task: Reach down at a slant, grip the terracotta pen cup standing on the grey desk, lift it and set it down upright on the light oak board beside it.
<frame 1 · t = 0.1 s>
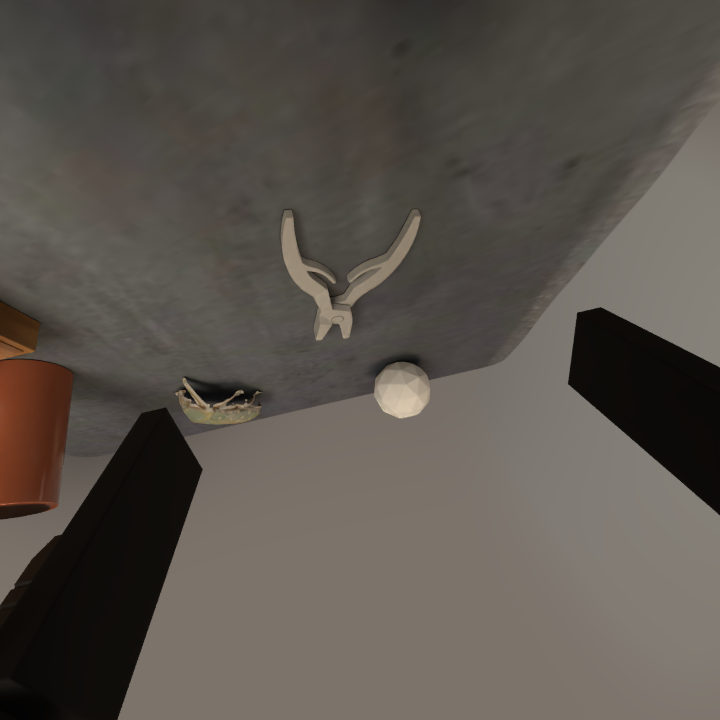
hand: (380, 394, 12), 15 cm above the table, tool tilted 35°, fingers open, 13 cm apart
decorative insect model: (218, 388, 45), on the table
pliers: (339, 278, 31), on the table
geometric ball: (394, 364, 51), on the table
pen cup: (29, 375, 33), on the table
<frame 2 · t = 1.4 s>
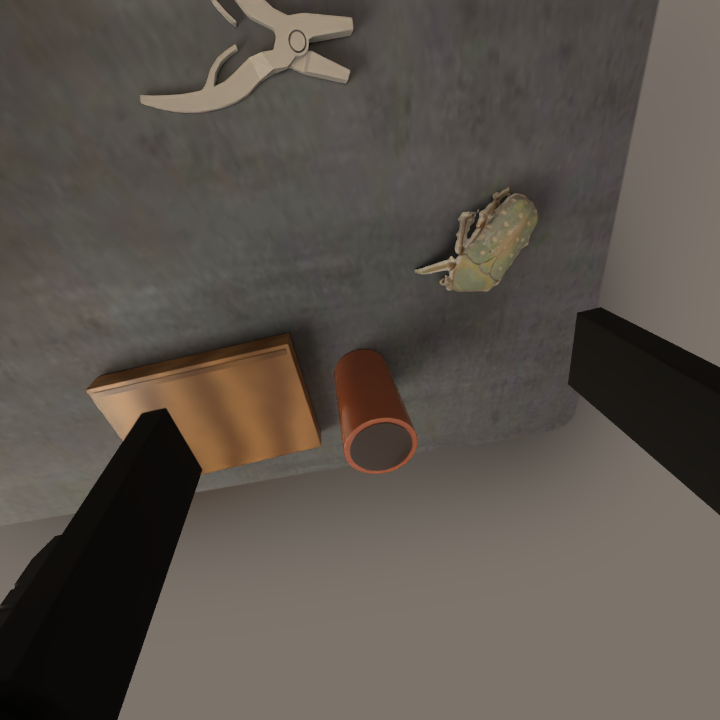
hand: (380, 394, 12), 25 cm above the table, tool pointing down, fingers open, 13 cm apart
decorative insect model: (467, 243, 35), on the table
pliers: (246, 39, 26), on the table
pen cup: (361, 373, 41), on the table
oak board: (219, 406, 40), on the table
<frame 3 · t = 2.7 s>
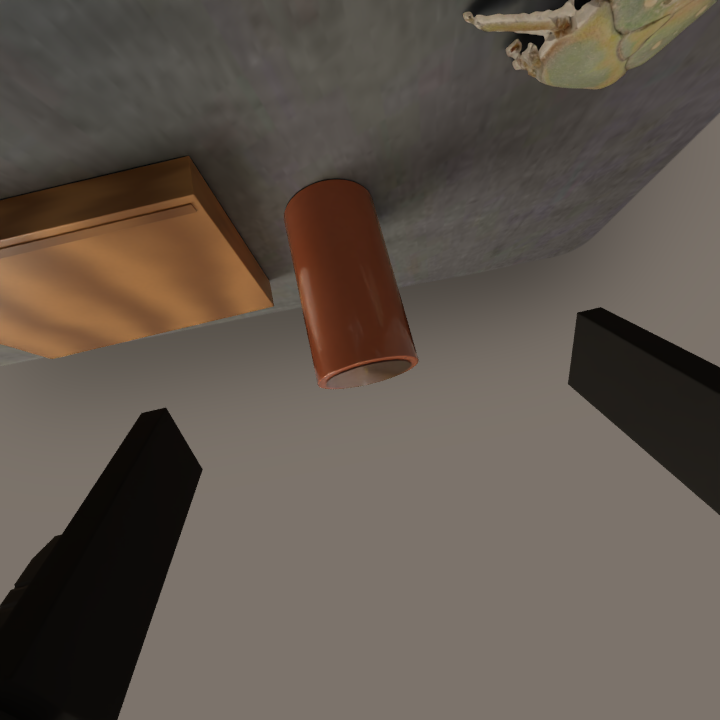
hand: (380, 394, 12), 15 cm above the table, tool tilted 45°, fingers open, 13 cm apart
pen cup: (329, 213, 25), on the table
oak board: (102, 267, 25), on the table
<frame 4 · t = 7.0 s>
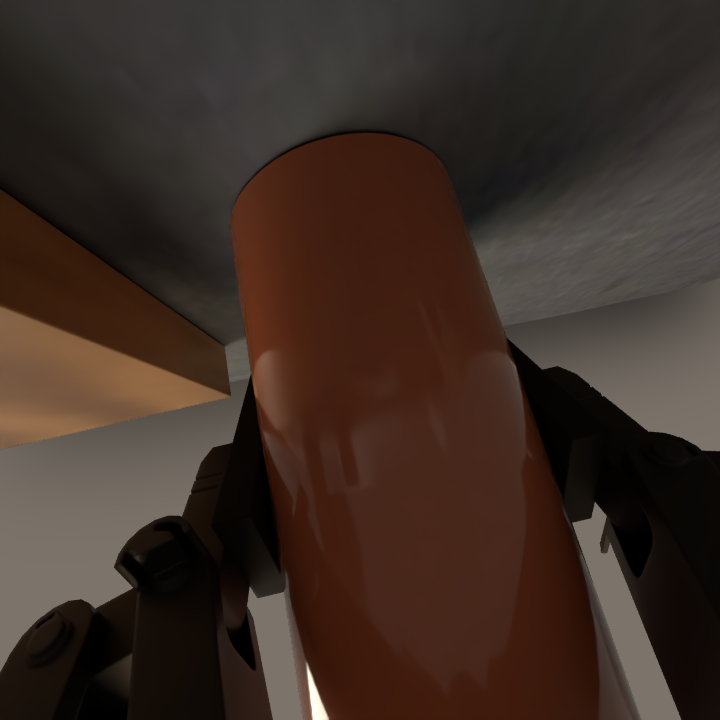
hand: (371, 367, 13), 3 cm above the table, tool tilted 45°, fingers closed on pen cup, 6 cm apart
pen cup: (343, 228, 11), on the table, touching gripper
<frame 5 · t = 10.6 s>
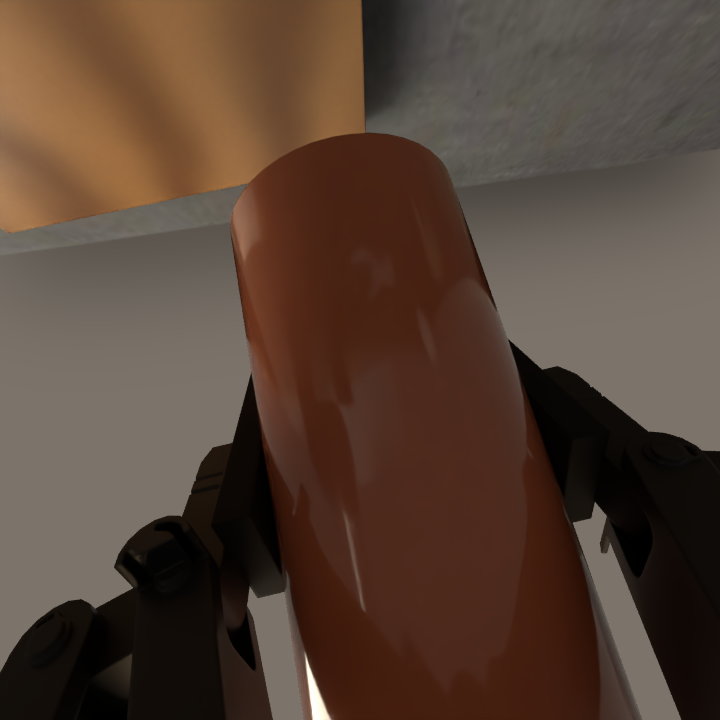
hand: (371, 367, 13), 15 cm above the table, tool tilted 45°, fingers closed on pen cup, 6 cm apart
pen cup: (344, 228, 11), point 12 cm above the table, touching gripper
oak board: (91, 12, 14), on the table
when the fingers open (6 cm above the table, at t = 14.6 s): pen cup stays where it is, resting on oak board.
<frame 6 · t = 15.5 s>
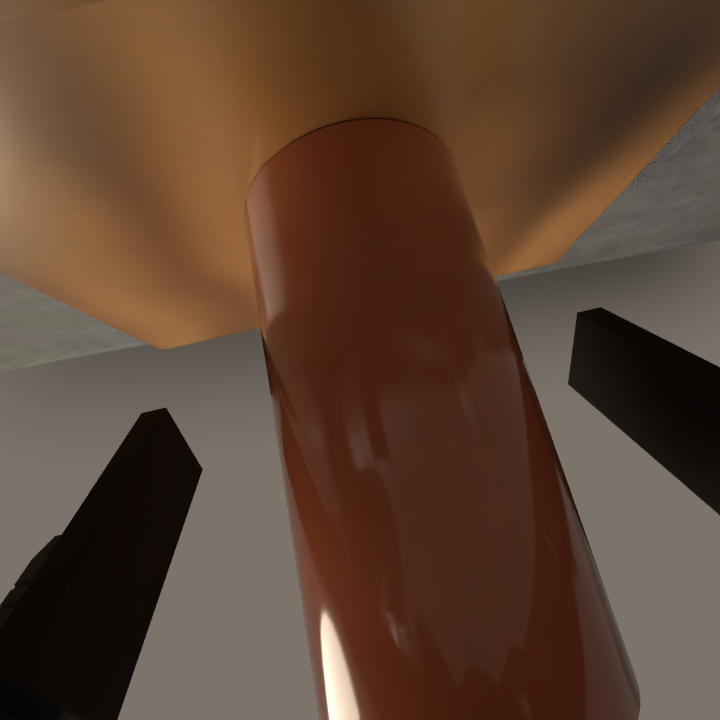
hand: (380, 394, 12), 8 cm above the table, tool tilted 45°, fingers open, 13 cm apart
pen cup: (352, 214, 11), point 2 cm above the table, touching oak board
oak board: (332, 150, 12), on the table
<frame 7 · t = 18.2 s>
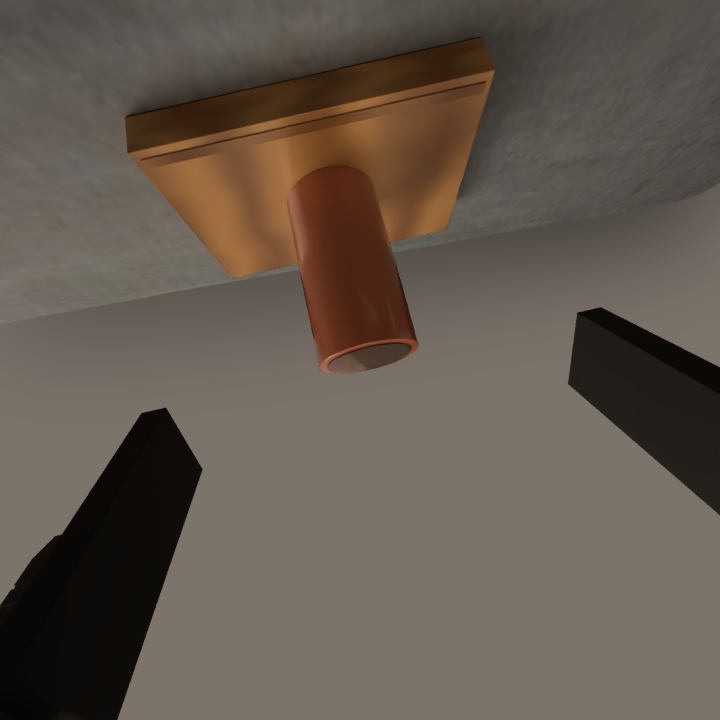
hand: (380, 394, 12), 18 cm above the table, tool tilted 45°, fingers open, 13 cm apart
pen cup: (331, 201, 26), point 2 cm above the table, touching oak board
oak board: (322, 173, 26), on the table
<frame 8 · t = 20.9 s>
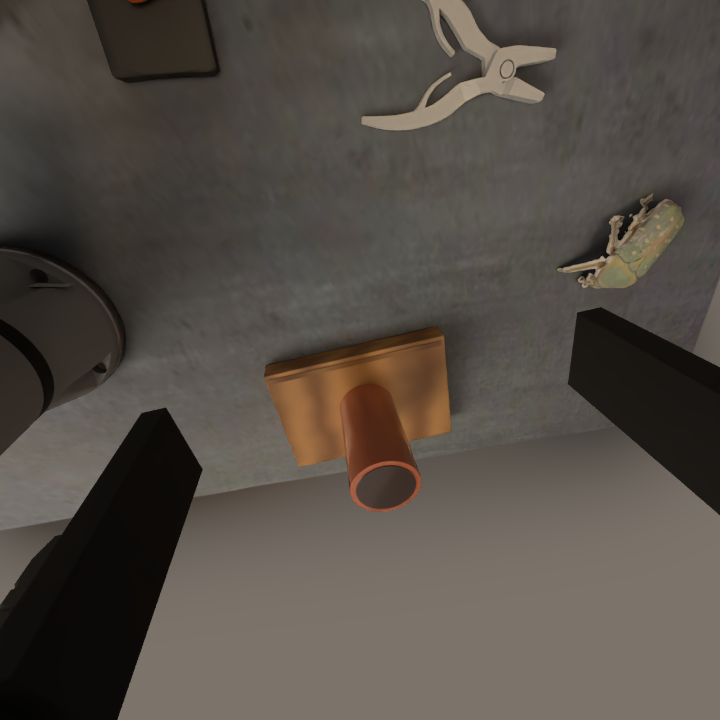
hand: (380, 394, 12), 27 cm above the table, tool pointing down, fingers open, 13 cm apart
decorative insect model: (606, 244, 39), on the table
pliers: (455, 67, 30), on the table
pen cup: (366, 406, 42), point 2 cm above the table, touching oak board
oak board: (362, 394, 44), on the table
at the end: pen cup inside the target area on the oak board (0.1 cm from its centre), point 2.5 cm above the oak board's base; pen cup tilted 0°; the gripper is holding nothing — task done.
